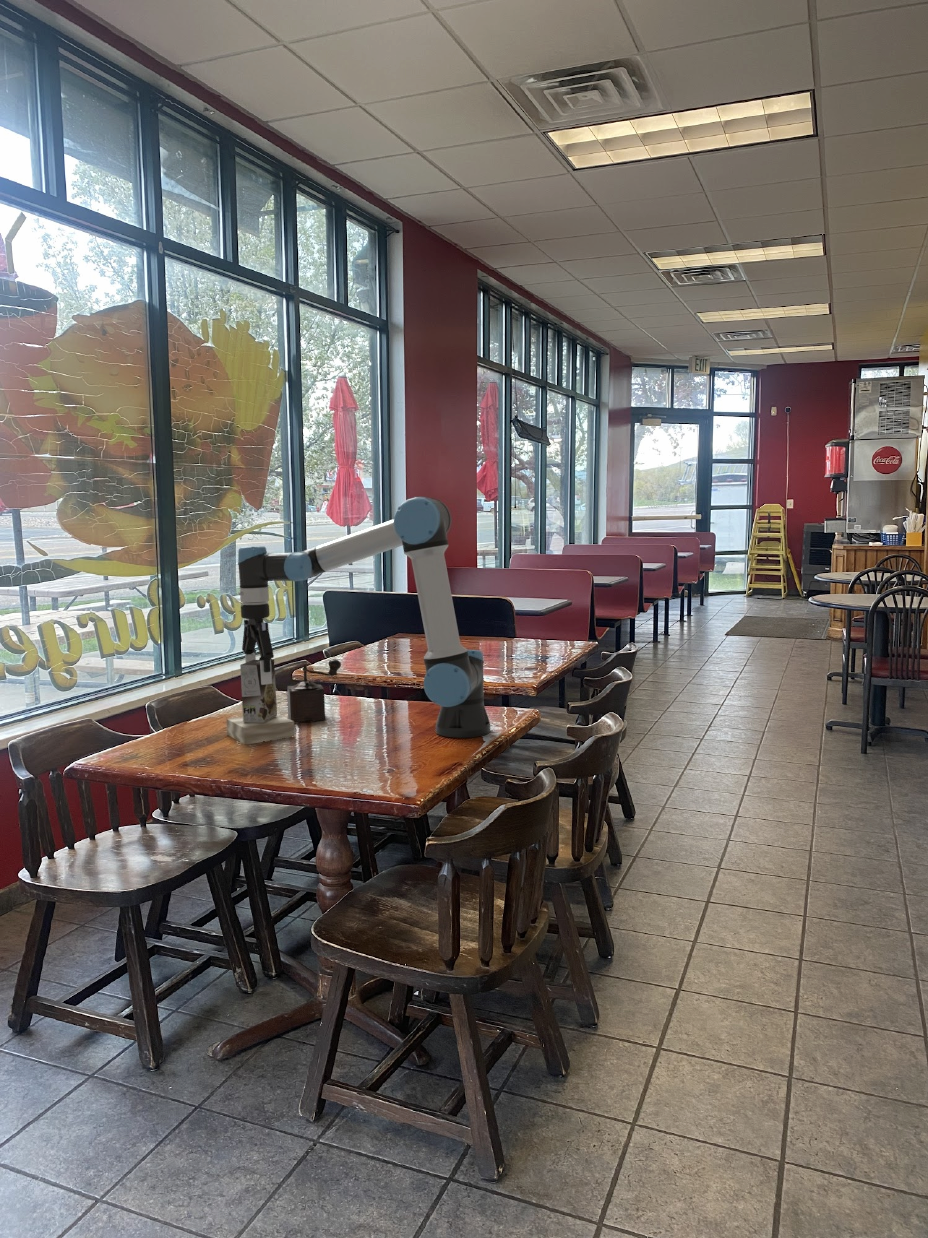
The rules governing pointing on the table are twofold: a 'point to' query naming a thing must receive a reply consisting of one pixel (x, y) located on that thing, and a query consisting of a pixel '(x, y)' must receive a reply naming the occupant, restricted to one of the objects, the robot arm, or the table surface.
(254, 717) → the coffee box
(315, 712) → the coffee grinder
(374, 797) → the table surface
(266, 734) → the birch block
